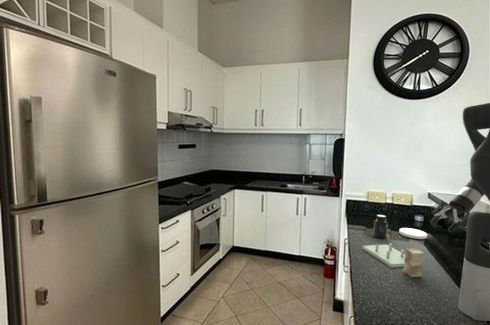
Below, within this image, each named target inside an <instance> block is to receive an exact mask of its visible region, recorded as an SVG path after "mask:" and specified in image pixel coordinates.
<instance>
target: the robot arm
mask: <svg viewBox="0 0 490 325" xmlns="http://www.w3.org/2000/svg"><path fill="white" fill-rule="evenodd" d="M461 116H462V123H463V127H464V129H465V131H466V134H467V136H468V139H469V141H470V142H471V144H472V146H473V148H474V152H473V153H472V155H471V157H470V160H469V163H470V164H469V167H470V179H469V180H470V181H469V182H468V183H467V184H465V186H463V188H462V189H460V190H459V191H458V192H457V193H456V194H455V195H454V197H452V199H451V200H450V201H449V203H448V205H447V206H445V205H444V204H443V203H440V204H439V205H438V206H437V207H436V208H434V209H433V211H432V212H431V214H432V215H433V217H432V218H431V219H430V220H429V224H430V225H431V226H433V227H434V226H435V225H437V223H438V222H439V221H440V220H442V219H451V220H453V221H454V222H452V224H451V225H450V226H449V227H448V228H447V231H448V232H449V234H451V233H454V232H456V230H457V229H458V228H461V227H462V228H466V235H465V245H464V255H463V256H464V258H463V265H462V272H461V280H460V289H459V298H458V303H457V304H458V305H457V307H458V310H459V311H460V312H461V313H463V314H464V315H465V316H468V317H470V318H471V319H473V321H480V322H487V321H490V250H489V249H487V248H484V247H483V246H482V245H481V242H483V243H486V244H487V243H488V244H490V212H484V211H472V210H473V208H474V207H476V206H477V204H478V203H479V202H480V200H481V199H482V198H483V197H484V195H485V197H486V198H487V199H488V201H489V202H490V102H488V103H483V104H482V103H481V104H476V105H470V106H467V107H465V108H464V109H463V111H462V115H461ZM487 129H489V130H488V132H487V135H486V136H484V135H483V134H482V133H481V132H479V131H480V130H487Z"/></svg>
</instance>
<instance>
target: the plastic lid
mask: <svg viewBox="0 0 490 325" xmlns="http://www.w3.org/2000/svg"><path fill="white" fill-rule="evenodd" d="M398 232H399V235H402V236H403V237H406V238H410V239H417V240H426V239H428V233H427V232H425V231H423V230H421V229H416V228H411V227H410V228H409V227H401V228H399V230H398Z"/></svg>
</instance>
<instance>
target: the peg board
mask: <svg viewBox="0 0 490 325" xmlns="http://www.w3.org/2000/svg"><path fill="white" fill-rule="evenodd" d="M362 250H363V251H366V252H367V253H368V254H369V255H371V256H372V257H374V258H376V259H377V260H379V261H381V262H382V263H384V264H385V265H387V266H388V267H389V268H404V260H405V250H404V249H401V250H400V251H399V250H397V249H396V248H394V247H393V243H389V245H388V244H372V245H362Z"/></svg>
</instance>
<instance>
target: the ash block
mask: <svg viewBox="0 0 490 325" xmlns="http://www.w3.org/2000/svg"><path fill="white" fill-rule="evenodd" d="M404 254H405V260H404V267H403V270H402V272H403V273H405V274H406V275H408V276H409V277H411V278H416V277H422V271H423V262H424V261H423V260H424V252H423V251H421V250H419V249H417V248H413V247H412V248H405V250H404Z"/></svg>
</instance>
